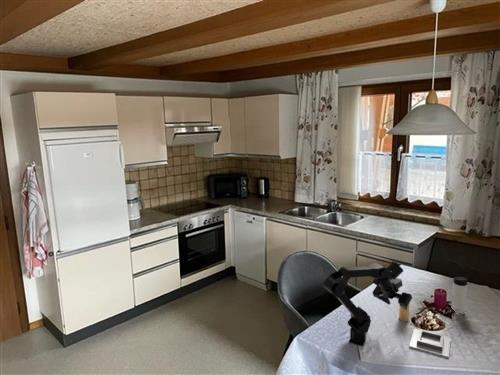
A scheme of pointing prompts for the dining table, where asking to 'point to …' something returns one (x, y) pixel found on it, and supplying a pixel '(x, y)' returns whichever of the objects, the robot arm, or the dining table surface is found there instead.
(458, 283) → the travel mug
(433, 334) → the socket
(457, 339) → the dining table surface
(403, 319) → the rounded tan peg
